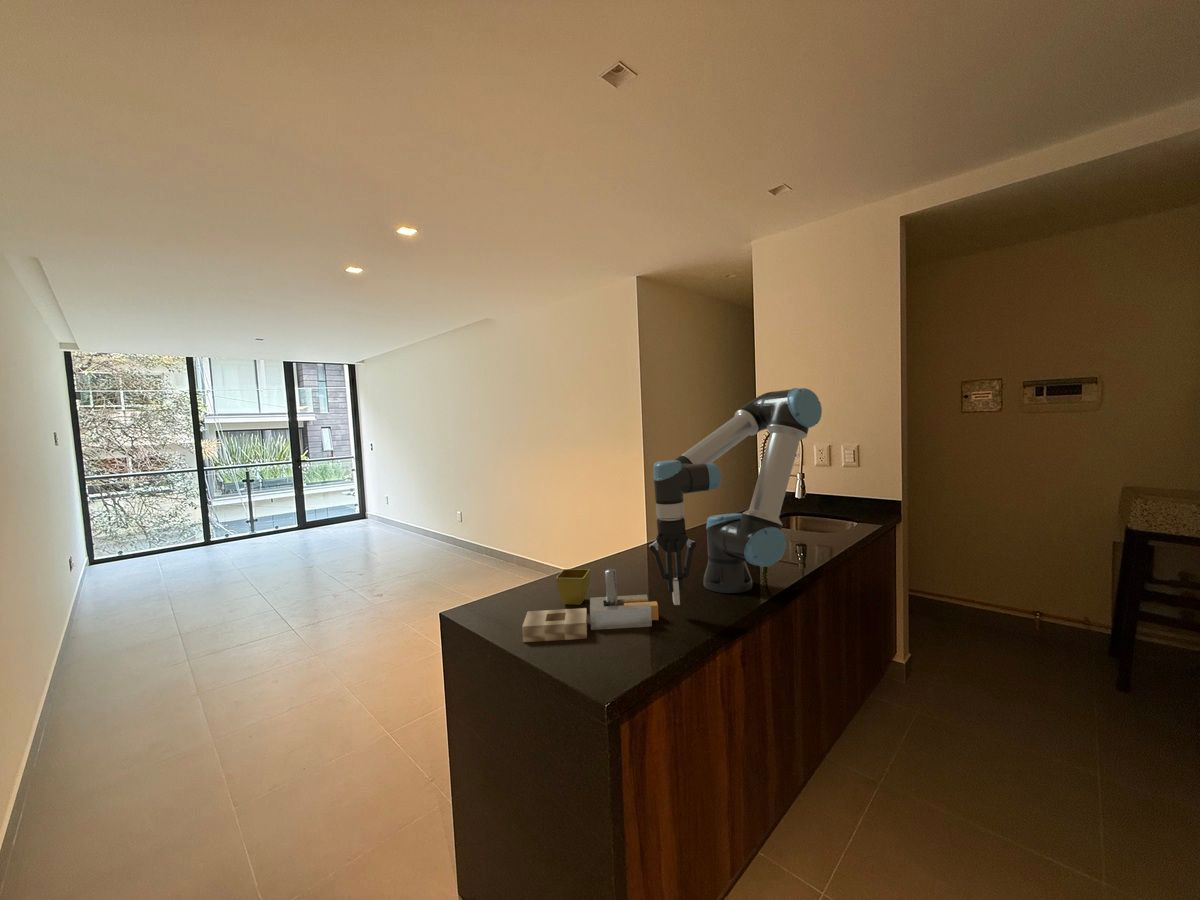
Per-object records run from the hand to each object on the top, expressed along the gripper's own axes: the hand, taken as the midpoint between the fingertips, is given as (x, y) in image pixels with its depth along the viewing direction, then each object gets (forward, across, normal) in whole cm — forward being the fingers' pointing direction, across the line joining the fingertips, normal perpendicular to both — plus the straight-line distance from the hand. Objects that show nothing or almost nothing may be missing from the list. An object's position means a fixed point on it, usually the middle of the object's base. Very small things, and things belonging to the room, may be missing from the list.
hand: (676, 602), depth 130 cm
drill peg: (+3, +18, 0) cm, 18 cm away
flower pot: (+4, +29, -16) cm, 33 cm away
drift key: (+3, +10, 0) cm, 10 cm away
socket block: (+4, +16, 0) cm, 16 cm away
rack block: (+3, +33, +5) cm, 33 cm away
